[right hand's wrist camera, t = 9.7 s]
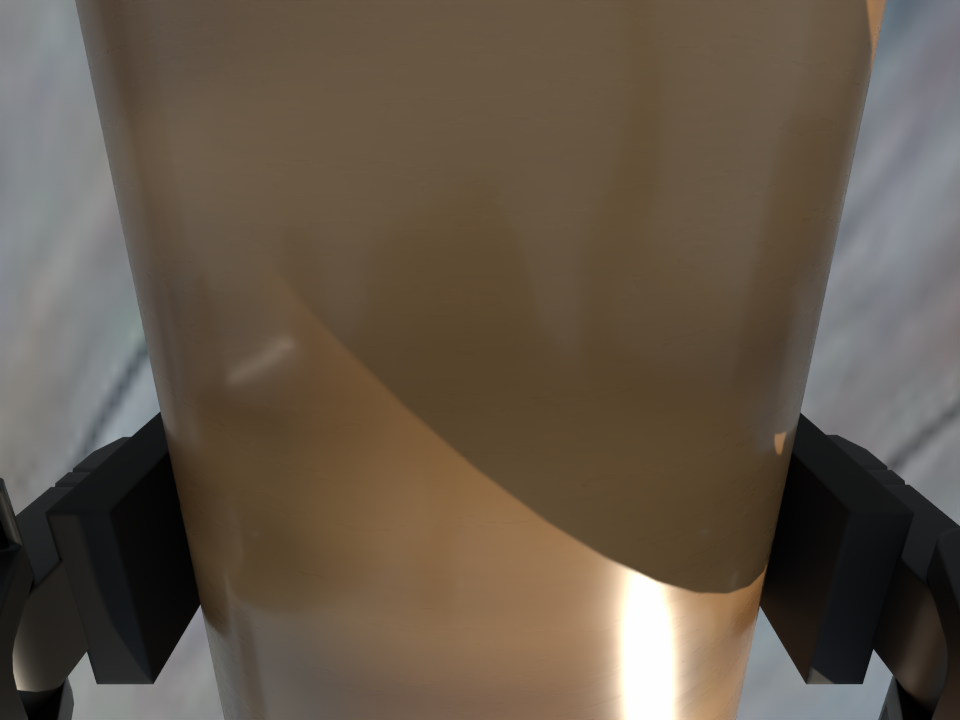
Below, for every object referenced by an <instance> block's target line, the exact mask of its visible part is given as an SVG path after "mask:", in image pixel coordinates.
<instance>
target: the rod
mask: <svg viewBox="0 0 960 720" xmlns="http://www.w3.org/2000/svg"><path fill="white" fill-rule="evenodd" d="M886 1H887V0H75V2H76V6H77V11H78V16H79V21H80V26H81V31H82V35H83V40H84V45H85V50H86V55H87V59H88V64H89V69H90V74H91V79H92V83H93V88H94V93H95V98H96V103H97V108H98V112H99V117H100V122H101V127H102V132H103V136H104V141H105V146H106V151H107V156H108V161H109V165H110V170H111V175H112V180H113V185H114V189H115V194H116V199H117V204H118V209H119V214H120V218H121V223H122V228H123V233H124V238H125V242H126V247H127V252H128V257H129V262H130V266H131V271H132V276H133V281H134V286H135V291H136V295H137V300H138V305H139V310H140V315H141V319H142V324H143V329H144V334H145V339H146V344H147V348H148V353H149V358H150V363H151V368H152V372H153V377H154V382H155V387H156V392H157V396H158V401H159V406H160V411H161V416H162V421H163V425H164V430H165V435H166V440H167V445H168V449H169V454H170V459H171V464H172V469H173V474H174V478H175V483H176V488H177V493H178V498H179V502H180V507H181V512H182V517H183V522H184V526H185V531H186V536H187V541H188V546H189V551H190V555H191V560H192V565H193V570H194V575H195V579H196V584H197V589H198V594H199V599H200V604H201V608H202V613H203V618H204V623H205V628H206V632H207V637H208V642H209V647H210V652H211V656H212V661H213V666H214V671H215V676H216V681H217V685H218V690H219V695H220V700H221V705H222V709H223V714H224V719H225V720H736V716H737V711H738V707H739V702H740V697H741V692H742V688H743V683H744V678H745V673H746V668H747V664H748V659H749V654H750V649H751V645H752V640H753V635H754V630H755V626H756V621H757V616H758V611H759V606H760V602H761V597H762V592H763V587H764V583H765V578H766V573H767V568H768V564H769V559H770V554H771V549H772V544H773V540H774V535H775V530H776V525H777V521H778V516H779V511H780V506H781V502H782V497H783V492H784V487H785V482H786V478H787V473H788V468H789V463H790V459H791V454H792V449H793V444H794V440H795V435H796V430H797V425H798V420H799V416H800V411H801V406H802V401H803V397H804V392H805V387H806V382H807V378H808V373H809V368H810V363H811V358H812V354H813V349H814V344H815V339H816V335H817V330H818V325H819V320H820V316H821V311H822V306H823V301H824V296H825V292H826V287H827V282H828V277H829V273H830V268H831V263H832V258H833V254H834V249H835V244H836V239H837V234H838V230H839V225H840V220H841V215H842V211H843V206H844V201H845V196H846V192H847V187H848V182H849V177H850V172H851V168H852V163H853V158H854V153H855V149H856V144H857V139H858V134H859V130H860V125H861V120H862V115H863V110H864V106H865V101H866V96H867V91H868V87H869V82H870V77H871V72H872V68H873V63H874V58H875V53H876V48H877V44H878V39H879V34H880V29H881V25H882V20H883V15H884V10H885V6H886Z"/></svg>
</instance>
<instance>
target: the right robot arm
mask: <svg viewBox="0 0 960 720" xmlns="http://www.w3.org/2000/svg"><path fill="white" fill-rule="evenodd" d="M199 606H200V599H199V594H198V589H197V584H196V579H195V575H194V570H193V565H192V560H191V555H190V551H189V546H188V541H187V536H186V531H185V526H184V522H183V517H182V512H181V507H180V502H179V498H178V493H177V488H176V483H175V478H174V474H173V469H172V464H171V459H170V454H169V449H168V445H167V440H166V435H165V430H164V425H163V421H162V416H161V411H160V412H159V413H158V414H157V415H156V416H155V417H154V418H152V419H151V420H150V421H149V422H148V423H147V424H146V425H144V426H143V427H142V428H141V429H140V430H139V431H138V432H136V433H135V434H134V435H133V436H132V437H122V438H120V439H118V440H116V441H114V442H112V443H110V444H108V445H106V446H104V447H102V448H100V449H98V450H96V451H94V452H93V453H91V454H90V455H89V456H88V457H87V458H85V459H84V460H83V461H82V462H81V463H79V464H78V465H77V466H76V467H75V468H73V472H69V473H67V474H66V475H65V476H64V477H63V478H61V479H60V480H59V481H58V482H56V483H55V487H50V488H49V489H48V490H47V491H46V492H44V493H43V494H42V495H41V496H40V497H38V498H37V499H36V500H35V501H34V502H32V503H31V504H30V505H29V506H27V507H26V508H25V509H24V510H23V511H21V512H20V513H19V514H18V515H17V516H15V514H14V511H13V508H12V505H11V501H10V498H9V495H8V492H7V489H6V486H5V483H4V480H3V479H2V478H0V720H71V719H72V713H73V707H74V700H73V693H72V689H71V686H70V683H69V680H68V675H69V674H70V673H71V671H72V670H73V669H74V667H75V666H76V665H77V664H78V662H79V661H80V660H81V658H82V657H83V656H84V654H85V653H86V652H87V653H88V656H89V660H90V663H91V666H92V670H93V673H94V676H95V679H96V683H97V684H154V682H155V680H156V679H157V677H158V675H159V674H160V672H161V670H162V669H163V667H164V665H165V664H166V662H167V660H168V658H169V657H170V655H171V653H172V652H173V650H174V648H175V647H176V645H177V643H178V642H179V640H180V638H181V636H182V635H183V633H184V631H185V630H186V628H187V626H188V625H189V623H190V621H191V620H192V618H193V616H194V614H195V613H196V611H197V609H198V608H199ZM760 607H761V608H762V610H763V612H764V613H765V615H766V617H767V619H768V620H769V622H770V624H771V625H772V627H773V629H774V630H775V632H776V634H777V635H778V637H779V639H780V641H781V642H782V644H783V646H784V647H785V649H786V651H787V652H788V654H789V656H790V657H791V659H792V661H793V663H794V664H795V666H796V668H797V669H798V671H799V673H800V674H801V676H802V678H803V679H804V681H805V683H806V684H863V681H864V678H865V674H866V671H867V668H868V665H869V661H870V658H871V655H872V651H873V649H874V650H875V651H876V653H877V654H878V655H879V657H880V658H881V659H882V661H883V662H884V663H885V665H886V666H887V667H888V669H889V670H890V671H891V673H892V674H893V677H892V680H891V683H890V686H889V689H888V692H887V695H886V698H885V701H884V704H883V707H882V710H881V713H880V717H879V720H960V526H959V525H958V524H957V523H955V522H954V521H953V520H952V519H950V518H949V517H948V516H947V515H946V514H944V513H943V512H942V511H941V510H939V509H938V508H937V507H936V506H935V505H933V504H932V503H931V502H930V501H929V500H927V499H926V498H925V497H924V496H922V495H921V494H920V493H919V492H918V491H916V490H915V489H914V488H913V487H911V486H910V485H905V481H904V480H903V479H902V478H901V477H899V476H898V475H897V474H896V473H894V472H893V471H892V470H888V469H887V466H886V465H885V464H883V463H882V462H881V461H880V460H879V459H877V458H876V457H875V456H874V455H873V454H871V453H870V452H869V451H868V450H866V449H864V448H862V447H860V446H858V445H856V444H854V443H852V442H850V441H848V440H846V439H844V438H842V437H840V436H838V435H825V434H824V433H823V432H822V431H821V430H820V429H819V428H817V427H816V426H815V425H814V424H813V423H812V422H811V421H809V420H808V419H807V418H806V417H805V416H804V415H803V414H801V413H800V416H799V420H798V425H797V430H796V435H795V440H794V444H793V449H792V454H791V459H790V463H789V468H788V473H787V478H786V482H785V487H784V492H783V497H782V502H781V506H780V511H779V516H778V521H777V525H776V530H775V535H774V540H773V544H772V549H771V554H770V559H769V564H768V568H767V573H766V578H765V583H764V587H763V592H762V597H761V602H760Z"/></svg>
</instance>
